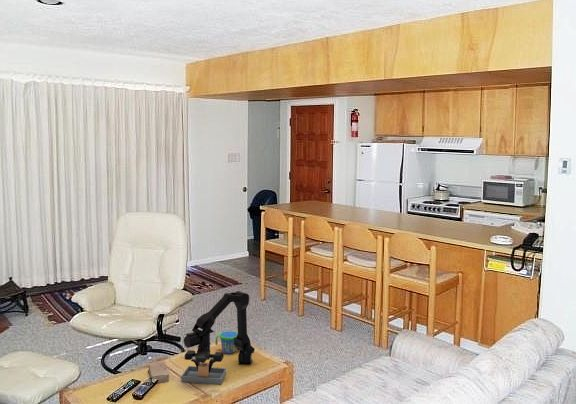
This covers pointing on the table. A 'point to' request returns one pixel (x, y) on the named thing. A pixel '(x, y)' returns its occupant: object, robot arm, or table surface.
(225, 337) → the snack cup
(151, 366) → the brick
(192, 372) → the tray
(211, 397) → the table surface
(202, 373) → the bored block
